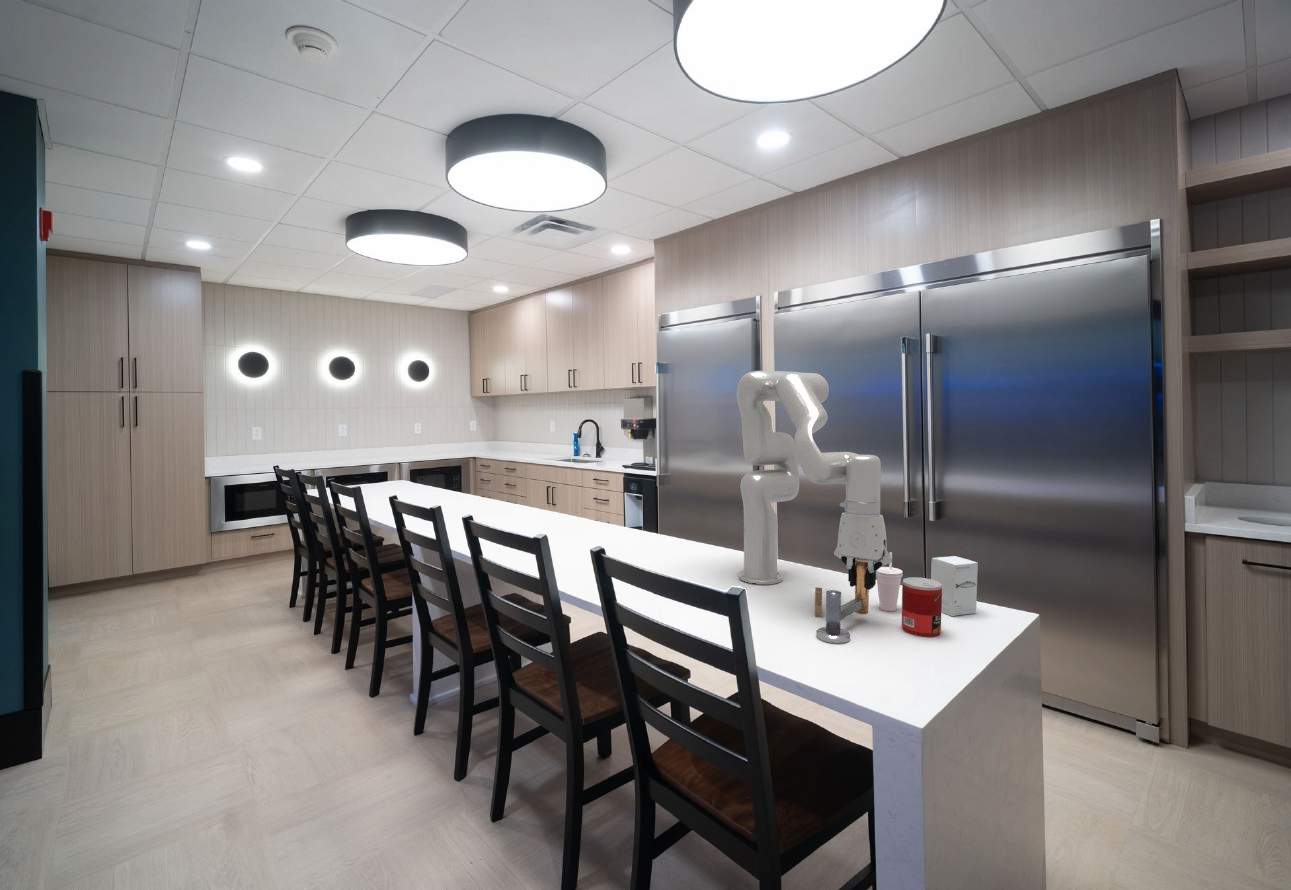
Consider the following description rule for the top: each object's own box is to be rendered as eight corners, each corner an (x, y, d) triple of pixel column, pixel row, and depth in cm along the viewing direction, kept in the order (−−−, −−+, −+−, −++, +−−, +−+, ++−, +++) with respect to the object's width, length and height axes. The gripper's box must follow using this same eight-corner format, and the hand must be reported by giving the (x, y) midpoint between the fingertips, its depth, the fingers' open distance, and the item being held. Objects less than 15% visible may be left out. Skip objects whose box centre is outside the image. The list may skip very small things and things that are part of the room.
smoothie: (907, 611, 145) (909, 554, 144) (887, 614, 142) (888, 557, 141) (888, 603, 151) (889, 548, 150) (868, 606, 148) (869, 551, 147)
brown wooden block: (815, 611, 145) (815, 587, 144) (822, 612, 144) (822, 587, 144) (814, 616, 141) (815, 592, 141) (821, 617, 140) (822, 592, 140)
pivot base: (816, 630, 133) (816, 625, 133) (849, 633, 131) (849, 629, 131) (815, 641, 126) (815, 637, 126) (850, 645, 124) (850, 641, 124)
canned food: (941, 639, 127) (942, 589, 126) (900, 633, 130) (901, 584, 130) (940, 627, 134) (941, 579, 133) (902, 622, 137) (903, 575, 136)
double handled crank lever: (858, 612, 140) (858, 559, 140) (870, 615, 138) (871, 561, 137) (823, 631, 128) (824, 574, 127) (836, 635, 126) (837, 576, 125)
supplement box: (952, 617, 140) (953, 564, 139) (929, 607, 147) (930, 557, 146) (977, 614, 142) (978, 562, 141) (953, 604, 149) (954, 554, 149)
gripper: (821, 507, 139) (821, 584, 140) (893, 514, 129) (892, 597, 130) (835, 503, 145) (834, 577, 146) (905, 509, 134) (903, 589, 135)
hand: (861, 586), depth 138 cm, fingers closed on double handled crank lever, 3 cm apart
